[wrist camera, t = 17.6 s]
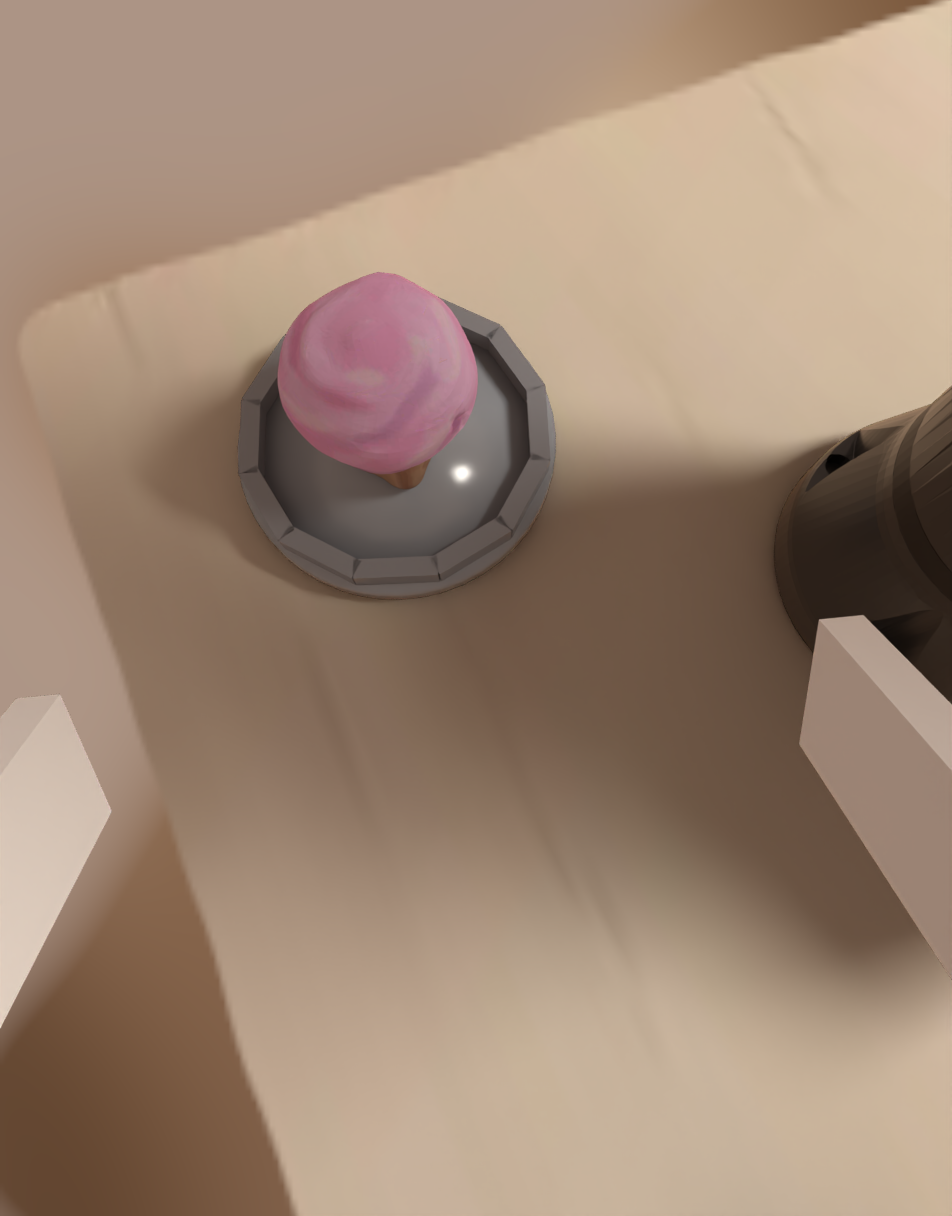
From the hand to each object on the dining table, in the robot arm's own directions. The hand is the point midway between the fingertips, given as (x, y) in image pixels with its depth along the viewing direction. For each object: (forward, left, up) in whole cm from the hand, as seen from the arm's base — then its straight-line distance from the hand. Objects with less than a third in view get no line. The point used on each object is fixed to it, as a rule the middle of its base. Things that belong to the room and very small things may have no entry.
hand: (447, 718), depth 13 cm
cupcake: (+3, -17, -23) cm, 29 cm away
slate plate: (+3, -17, -24) cm, 30 cm away
